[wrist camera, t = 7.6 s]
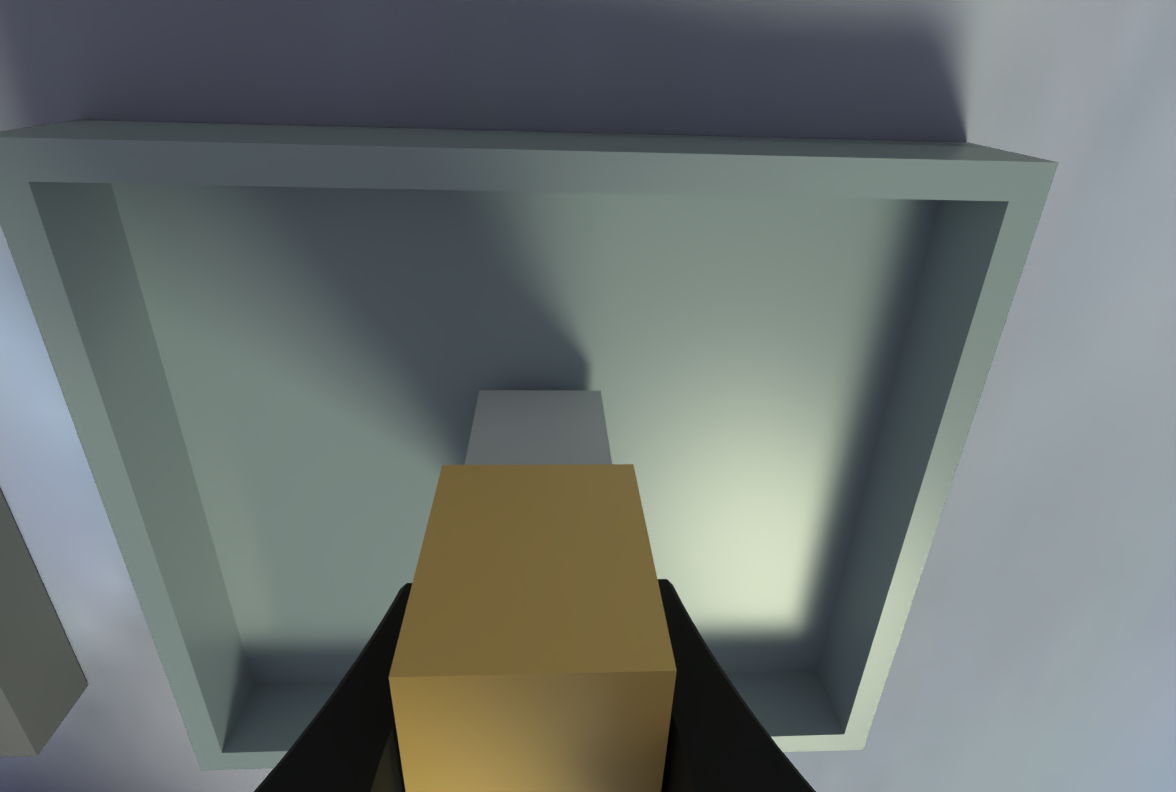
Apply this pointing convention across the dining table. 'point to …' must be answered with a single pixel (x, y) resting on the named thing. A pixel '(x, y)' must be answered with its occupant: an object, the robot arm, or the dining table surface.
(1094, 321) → the dining table surface
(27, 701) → the fuse holder
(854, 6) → the dining table surface
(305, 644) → the parts tray
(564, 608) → the block
